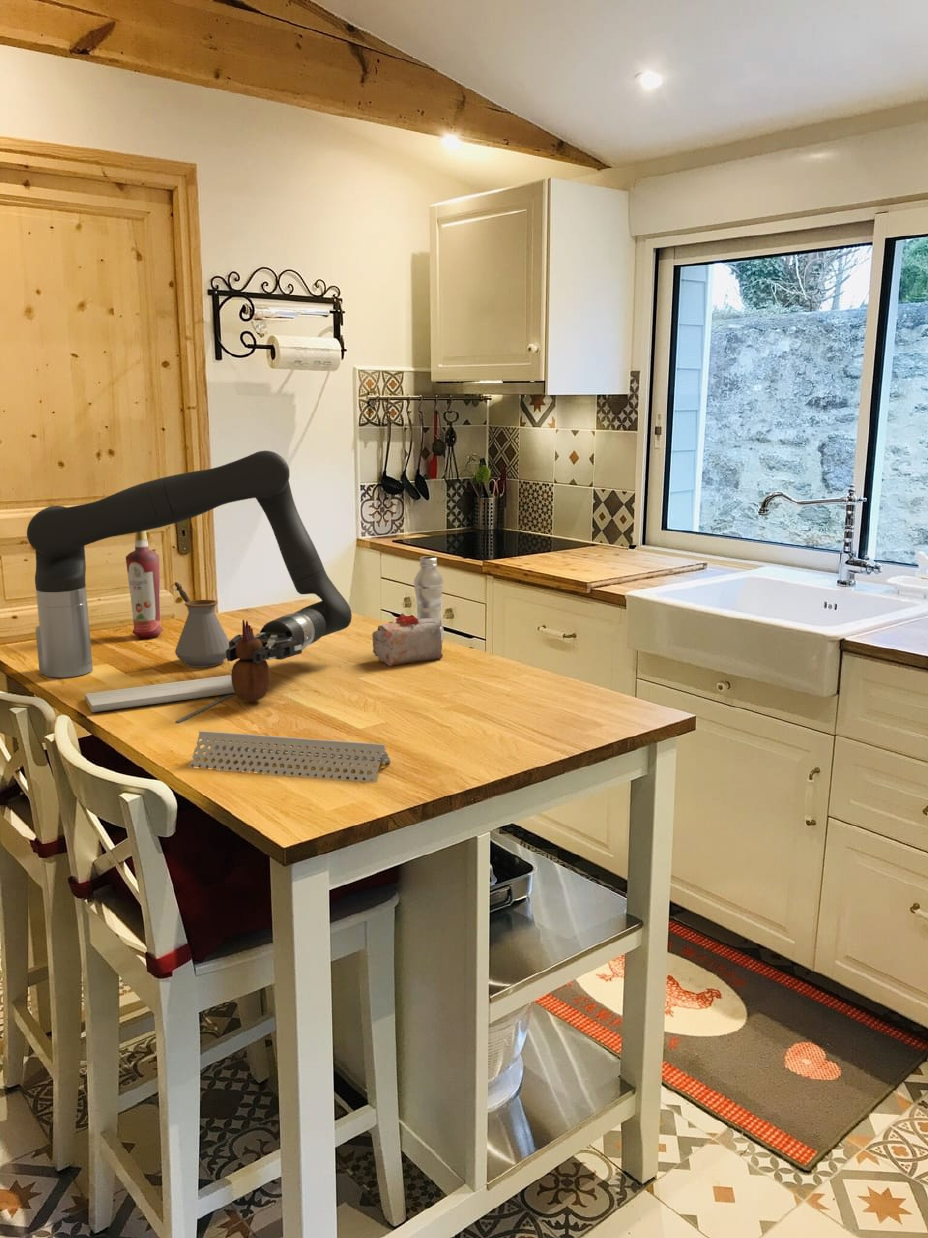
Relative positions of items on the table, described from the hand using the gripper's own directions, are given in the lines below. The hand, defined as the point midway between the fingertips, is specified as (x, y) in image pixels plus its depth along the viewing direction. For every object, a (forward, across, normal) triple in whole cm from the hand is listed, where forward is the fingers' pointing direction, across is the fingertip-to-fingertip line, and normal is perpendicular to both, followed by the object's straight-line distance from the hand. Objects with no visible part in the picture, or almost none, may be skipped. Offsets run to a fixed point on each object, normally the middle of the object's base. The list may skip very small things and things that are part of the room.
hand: (241, 656), depth 176 cm
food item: (-39, +16, +10) cm, 44 cm away
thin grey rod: (+2, -6, +9) cm, 11 cm away
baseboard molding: (-3, -16, +9) cm, 19 cm away
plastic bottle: (-52, +16, +10) cm, 55 cm away
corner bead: (+24, +22, +10) cm, 34 cm away
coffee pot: (-28, -28, +10) cm, 41 cm away
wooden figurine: (-3, 0, +9) cm, 9 cm away
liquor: (-42, -50, +10) cm, 66 cm away
